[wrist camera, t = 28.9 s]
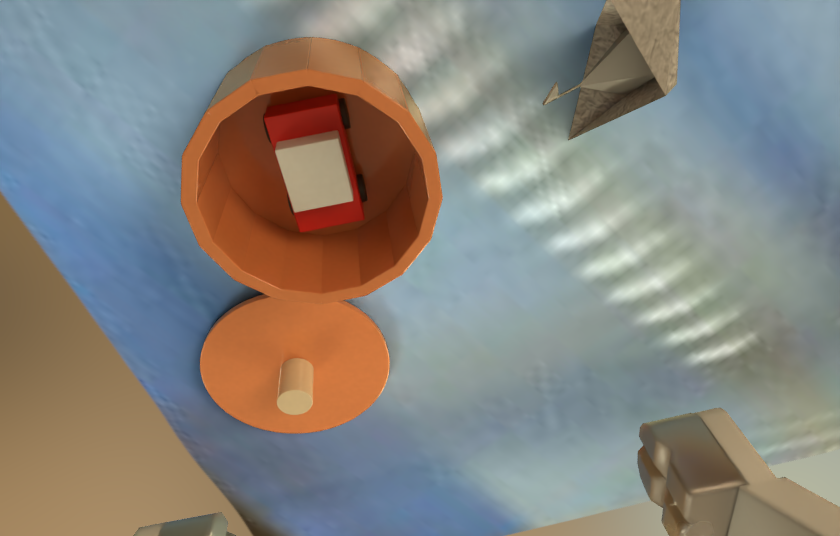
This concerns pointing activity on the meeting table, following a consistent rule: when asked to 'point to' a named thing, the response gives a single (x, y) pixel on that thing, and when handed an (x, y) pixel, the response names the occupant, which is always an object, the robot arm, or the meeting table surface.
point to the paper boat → (626, 61)
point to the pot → (265, 190)
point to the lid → (294, 364)
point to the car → (316, 161)
